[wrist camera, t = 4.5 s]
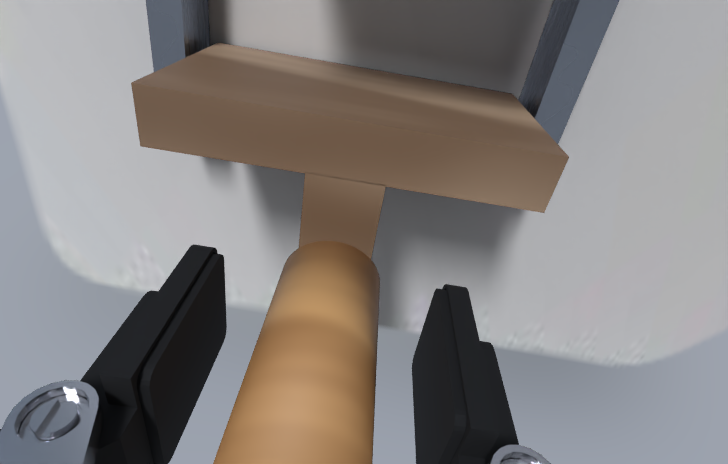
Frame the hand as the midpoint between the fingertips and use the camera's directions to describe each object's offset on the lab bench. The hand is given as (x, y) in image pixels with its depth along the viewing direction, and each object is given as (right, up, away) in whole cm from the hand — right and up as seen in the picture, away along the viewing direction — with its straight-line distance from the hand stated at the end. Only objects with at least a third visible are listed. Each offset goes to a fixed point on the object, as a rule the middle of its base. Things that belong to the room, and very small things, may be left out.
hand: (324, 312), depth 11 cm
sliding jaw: (+1, +5, +5) cm, 7 cm away
